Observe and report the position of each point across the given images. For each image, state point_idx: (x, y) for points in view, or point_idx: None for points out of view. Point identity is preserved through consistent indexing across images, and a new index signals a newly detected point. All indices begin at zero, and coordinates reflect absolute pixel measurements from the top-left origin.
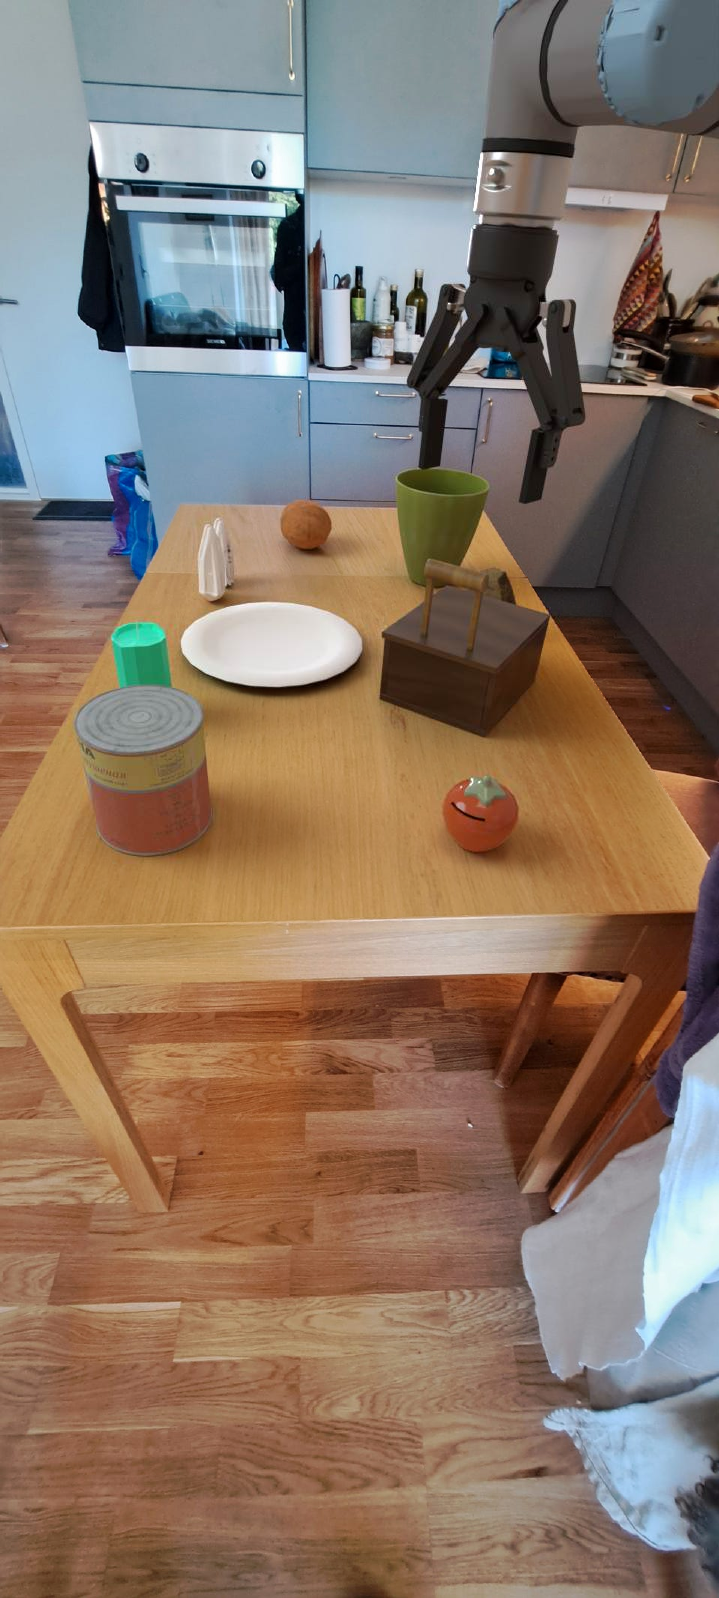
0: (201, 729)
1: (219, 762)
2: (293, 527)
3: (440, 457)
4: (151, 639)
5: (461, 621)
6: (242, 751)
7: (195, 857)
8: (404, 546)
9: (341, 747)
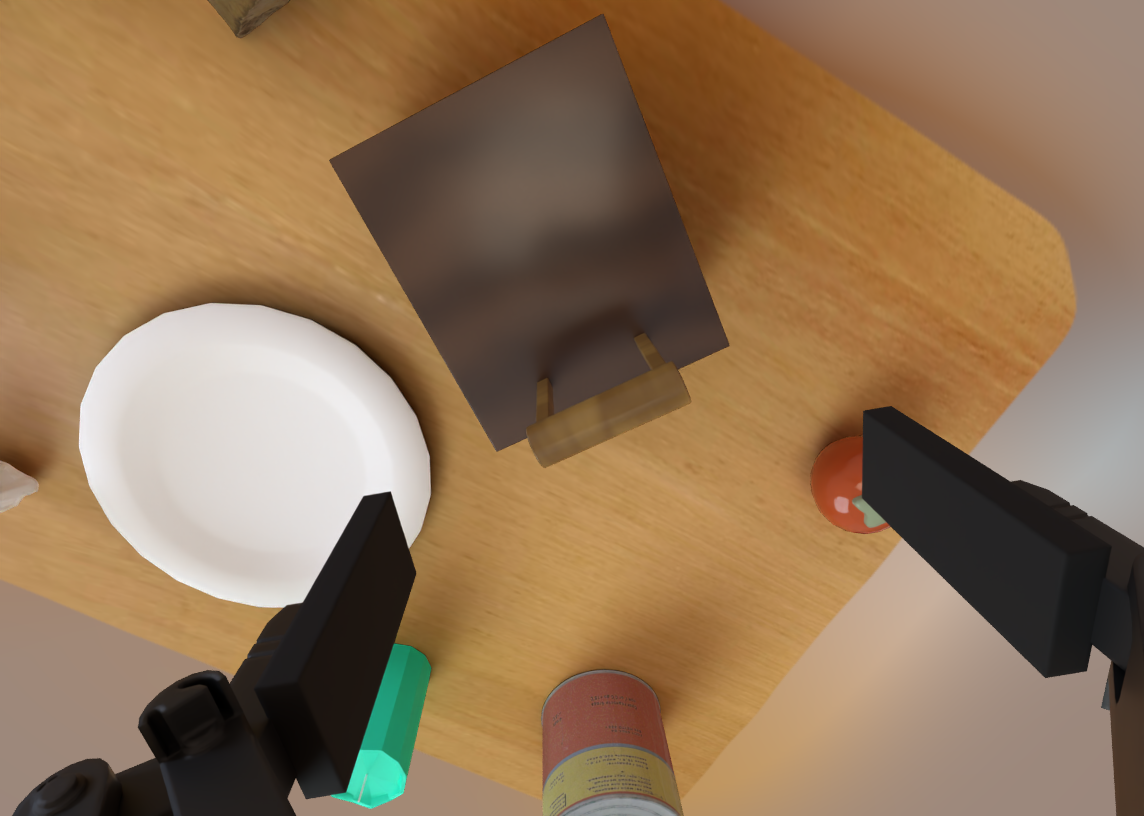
0: (660, 794)
1: (541, 636)
2: None
3: (383, 511)
4: (378, 763)
5: (530, 272)
6: (533, 608)
7: (677, 703)
8: None
9: (589, 502)
